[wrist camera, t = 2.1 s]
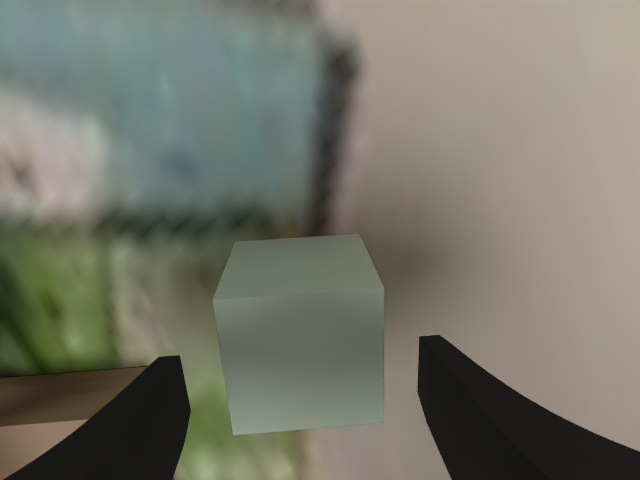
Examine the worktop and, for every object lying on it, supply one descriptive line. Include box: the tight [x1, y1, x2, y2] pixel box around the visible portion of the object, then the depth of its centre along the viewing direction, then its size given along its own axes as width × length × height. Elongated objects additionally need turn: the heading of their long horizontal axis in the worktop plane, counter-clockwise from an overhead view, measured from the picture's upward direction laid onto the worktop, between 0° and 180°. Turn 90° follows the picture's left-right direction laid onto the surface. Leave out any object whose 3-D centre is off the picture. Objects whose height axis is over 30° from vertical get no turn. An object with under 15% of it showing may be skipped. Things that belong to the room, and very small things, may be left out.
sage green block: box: [212, 234, 384, 435], centre depth 15 cm, size 5×5×5 cm
